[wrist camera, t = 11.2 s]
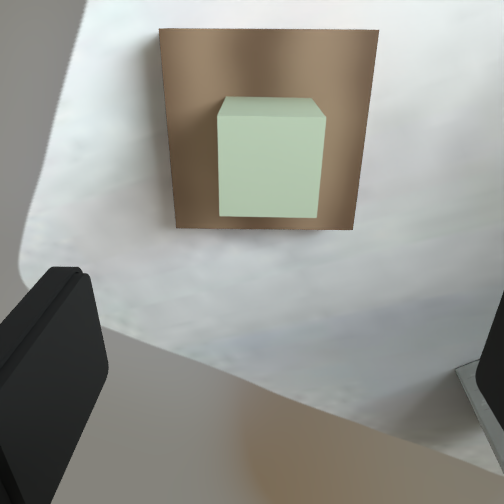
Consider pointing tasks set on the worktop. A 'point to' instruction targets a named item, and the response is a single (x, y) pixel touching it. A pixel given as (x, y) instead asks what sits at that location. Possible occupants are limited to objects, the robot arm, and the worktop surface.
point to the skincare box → (482, 410)
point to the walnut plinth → (265, 85)
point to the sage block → (270, 156)
